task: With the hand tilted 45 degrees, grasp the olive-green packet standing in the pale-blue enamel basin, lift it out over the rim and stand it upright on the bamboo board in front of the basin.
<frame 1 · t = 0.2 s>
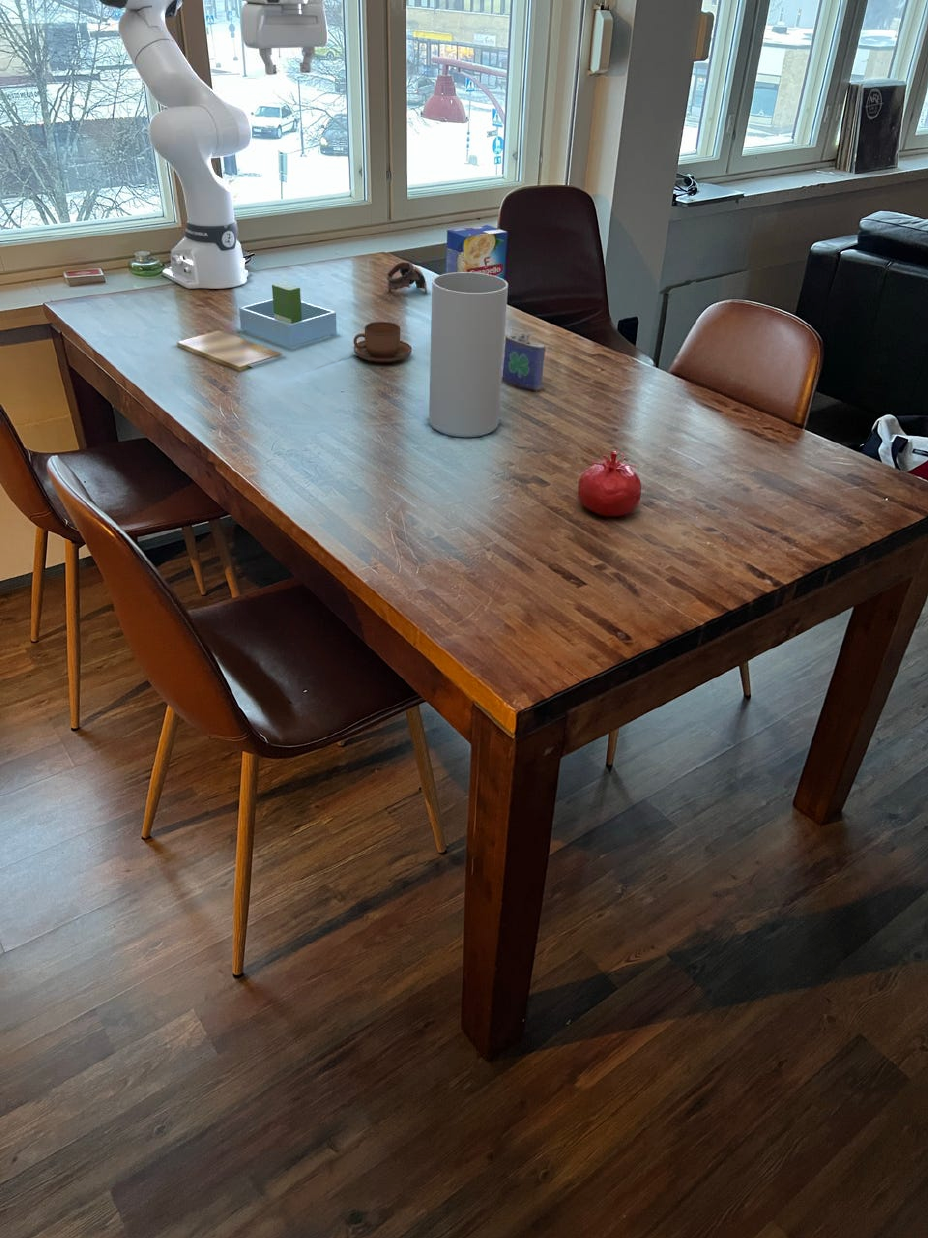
hand: (288, 73, 190), 48 cm above the table, tool pointing down, fingers open, 8 cm apart
flask: (520, 386, 184), on the table
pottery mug: (407, 292, 233), on the table
pomegranate: (607, 509, 144), on the table
board: (229, 352, 192), on the table
packet: (288, 330, 203), point 1 cm above the table, touching basin
basin: (289, 334, 203), on the table
cylinder vase: (463, 425, 167), on the table
blue food box: (472, 335, 208), on the table
cup and saucer: (382, 357, 194), on the table
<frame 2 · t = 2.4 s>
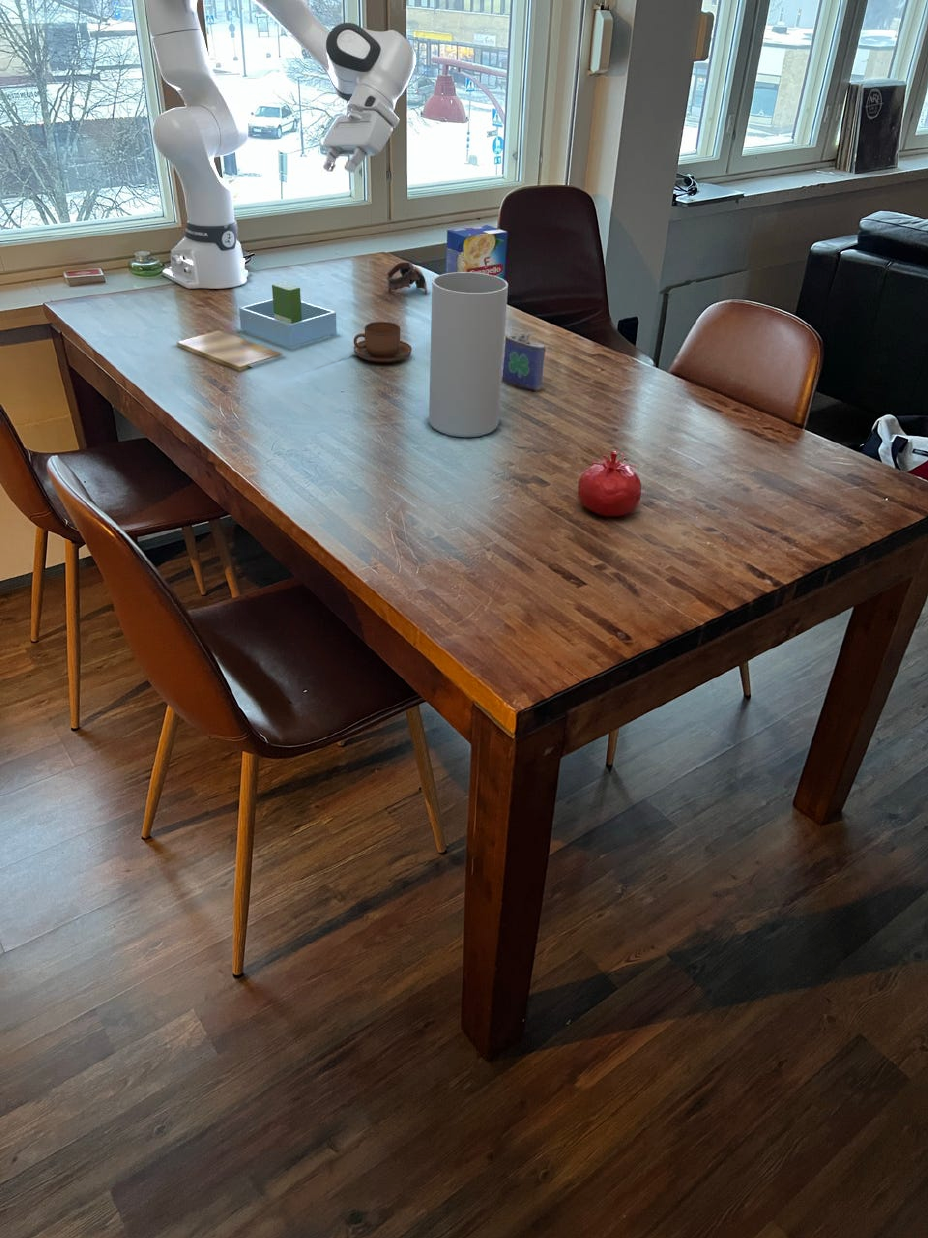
hand: (337, 170, 197), 31 cm above the table, tool tilted 40°, fingers open, 8 cm apart
nothing on the table moved.
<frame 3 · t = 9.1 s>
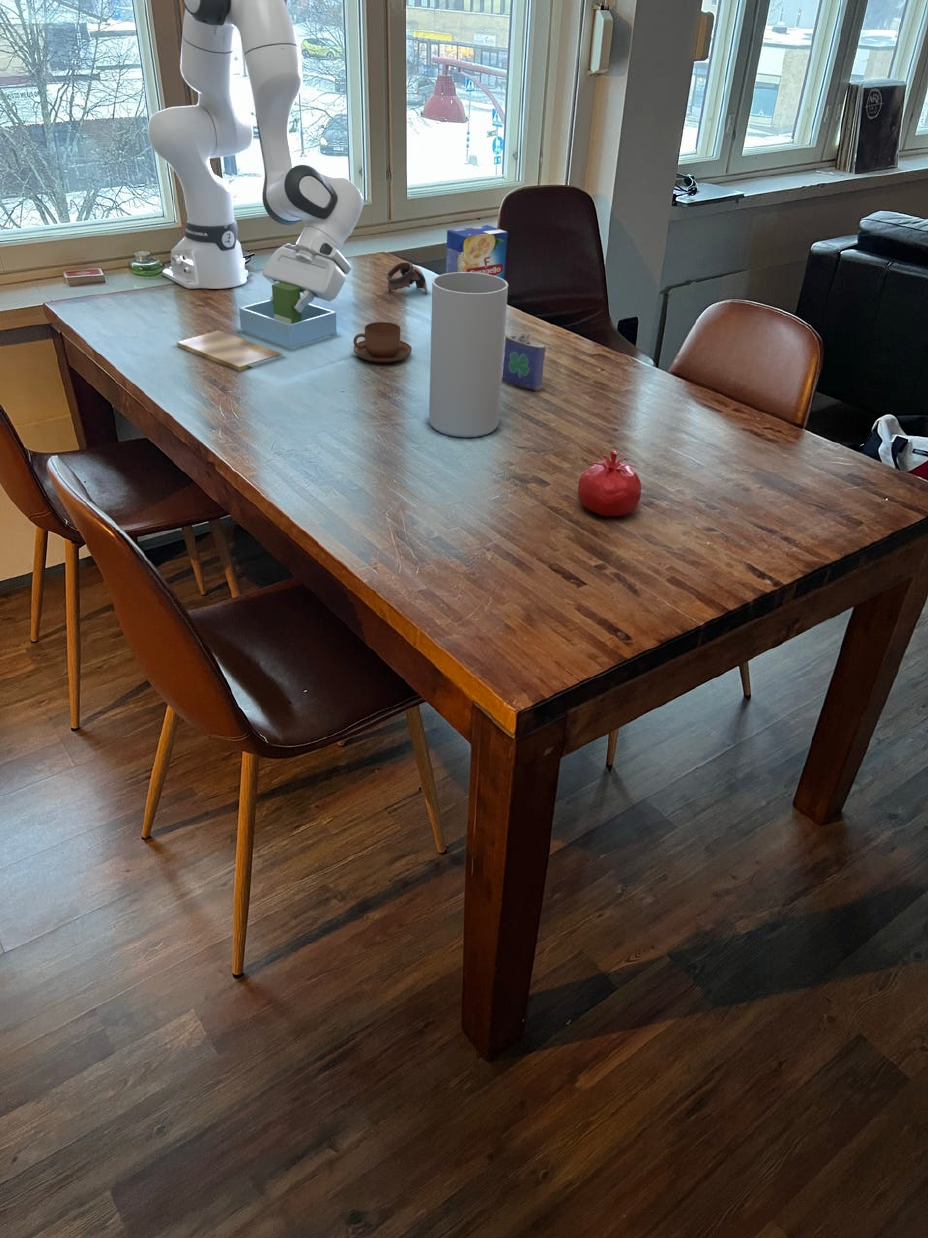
hand: (285, 306, 199), 6 cm above the table, tool tilted 45°, fingers closed on packet, 5 cm apart
packet: (288, 330, 203), point 1 cm above the table, touching basin, gripper
everything else where it was.
when the fingers open (6 cm above the table, at t = 17.9 s): packet stays where it is, resting on board.
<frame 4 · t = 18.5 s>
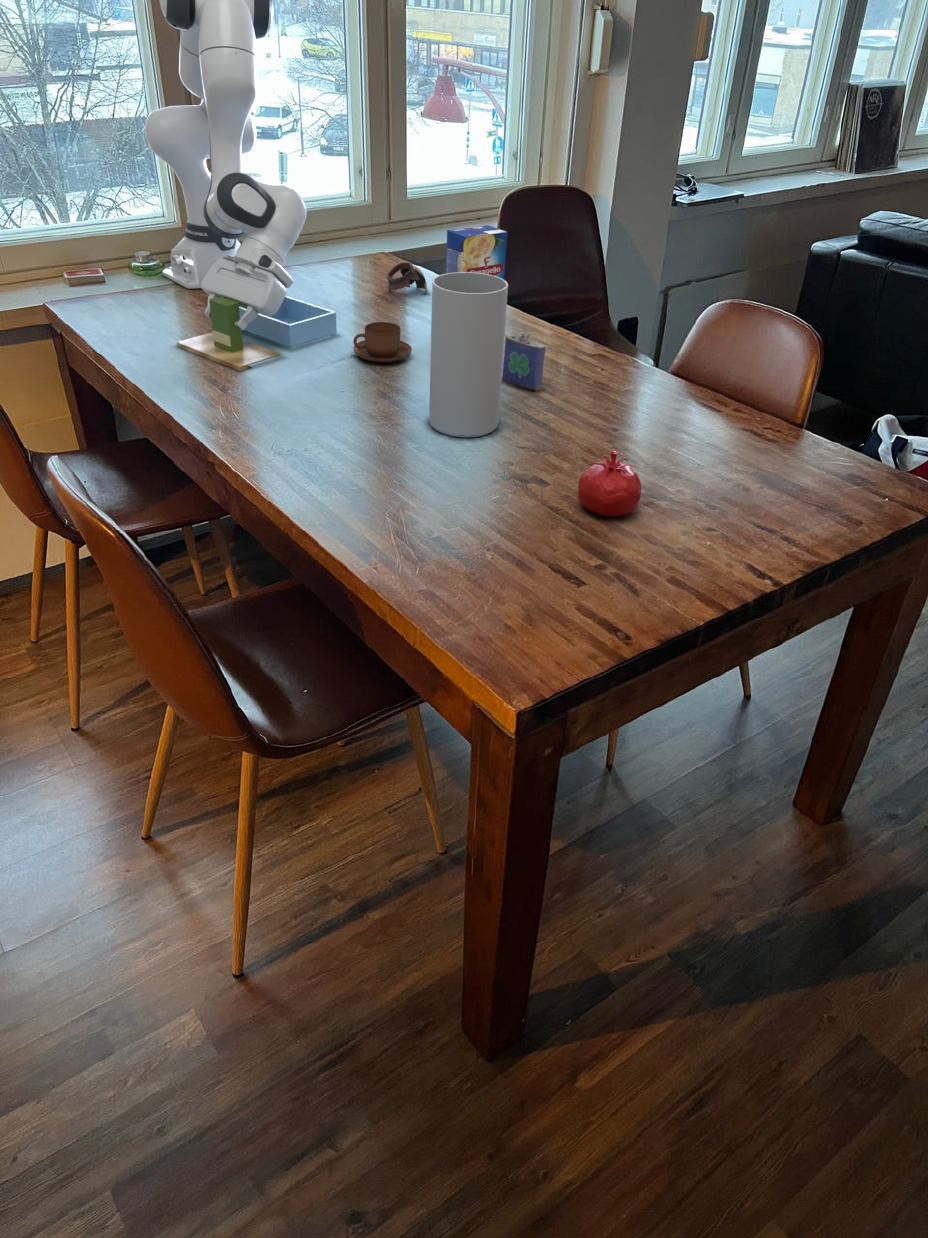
hand: (223, 322, 188), 6 cm above the table, tool tilted 45°, fingers open, 8 cm apart
packet: (228, 347, 192), point 1 cm above the table, touching board
everything else where it was.
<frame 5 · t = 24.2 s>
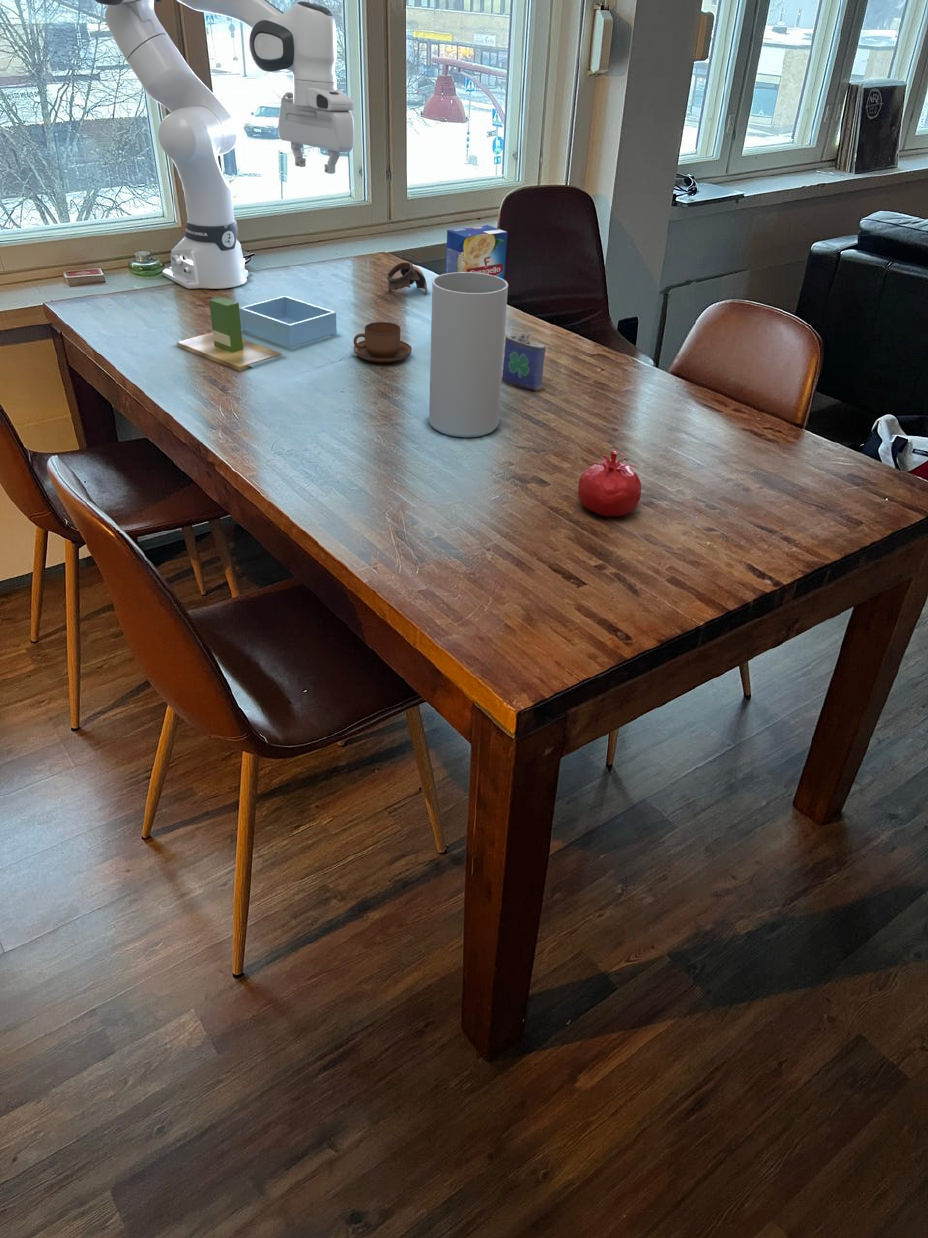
hand: (314, 169, 200), 30 cm above the table, tool pointing down, fingers open, 8 cm apart
nothing on the table moved.
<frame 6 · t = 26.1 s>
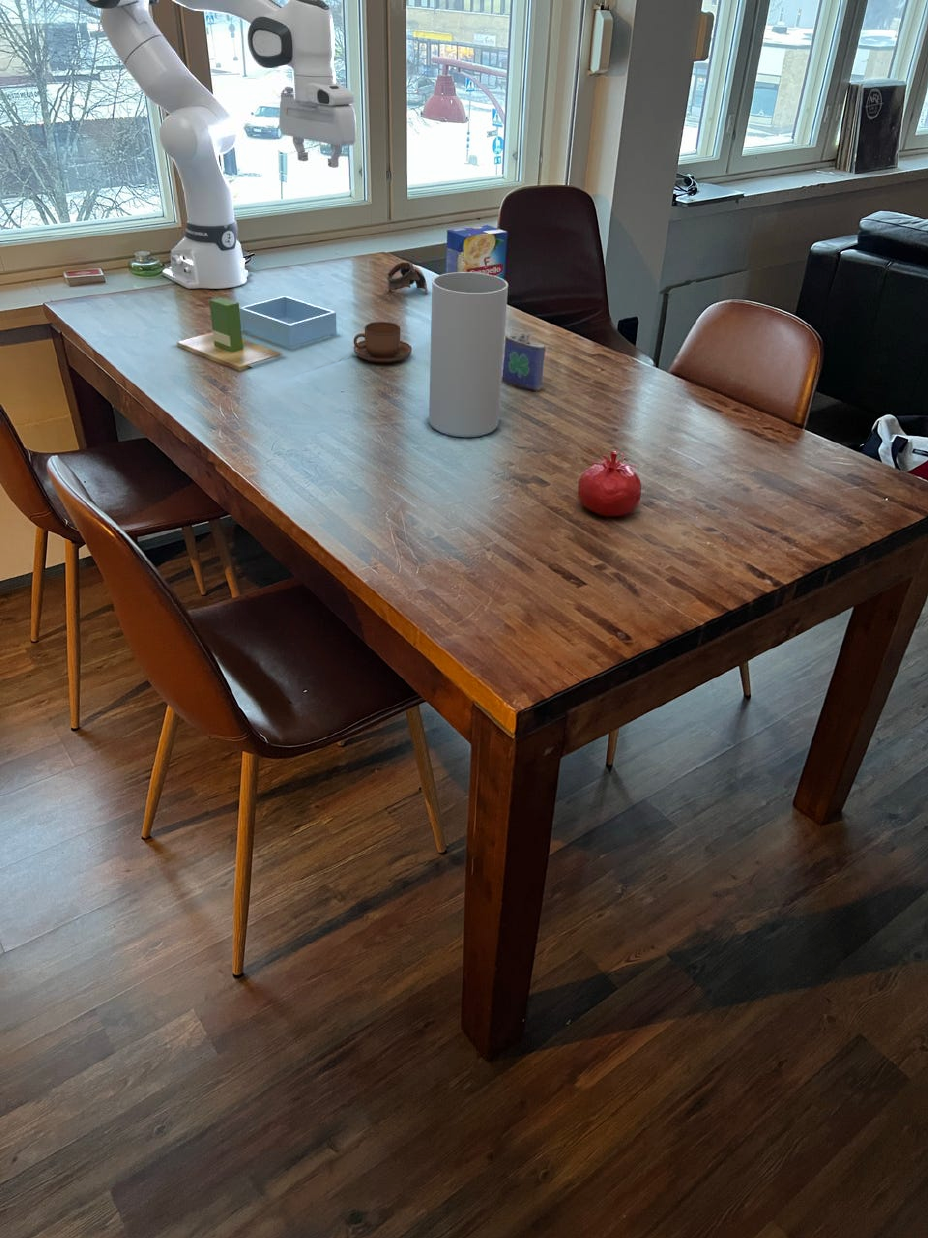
hand: (318, 163, 201), 31 cm above the table, tool pointing down, fingers open, 8 cm apart
nothing on the table moved.
at the end: packet inside the target area on the board (0.1 cm from its centre), point 1.0 cm above the board's base; packet tilted 0°; the gripper is holding nothing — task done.
